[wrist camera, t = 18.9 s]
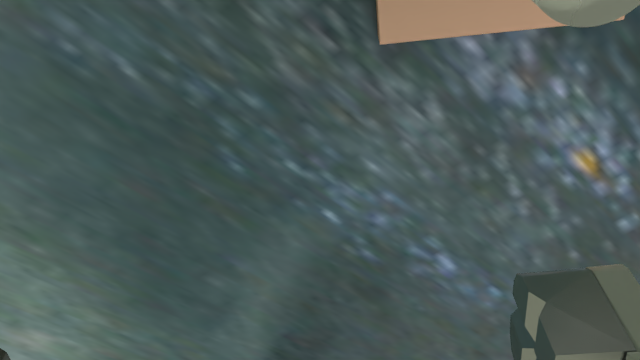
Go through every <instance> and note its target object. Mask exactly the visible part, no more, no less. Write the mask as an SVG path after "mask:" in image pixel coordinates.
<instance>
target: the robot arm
mask: <svg viewBox="0 0 640 360" xmlns="http://www.w3.org/2000/svg"><path fill="white" fill-rule="evenodd" d="M513 296H514V299H515V301H516V304H517V307H518V308H517V310H516V311H515V312H514V313H513V314H512V315H511V319H510V339H511V350H512V354H513V359H514V360H640V285H639V284H638V282H637V281H636V279H635V278H634V276H633V275H632V273H631V272H630V270H629V269H628V268H627V267H625V266H624V265H622V264H617V265H606V266H595V267H586V268H577V269H565V270H553V271H542V272H530V273H518V274H516V277H515V279H514V285H513ZM0 360H10V358H9V356H8V354H7V352H5V351H4V350H2V349H0Z"/></svg>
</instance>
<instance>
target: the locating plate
mask: <svg viewBox="0 0 640 360" xmlns="http://www.w3.org/2000/svg"><path fill="white" fill-rule="evenodd" d="M376 9H377V26H378V38H379V42H380V44H390V43H400V42H410V41H420V40H429V39H439V38H449V37H459V36H469V35H478V34H488V33H498V32H508V31H518V30H527V29H537V28H547V27H557V26H567V25H565V24H562V23H559V22H557V21H555V20H554V19H552V18H550V17H549V16H548V15H547V14H545V13H544V12H543V11H542V10H541V9H540V8H539V7H538V6H537V5H536V4H535V3H534V2H533V1H532V0H376ZM624 17H625V15H624V16H622V17H620V18H618V19H616V20H624ZM616 20H614V21H616Z"/></svg>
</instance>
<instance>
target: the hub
mask: <svg viewBox="0 0 640 360" xmlns="http://www.w3.org/2000/svg"><path fill="white" fill-rule="evenodd" d="M532 1H533V2H534V3H535V4H536V5H537V6H538V7H539V8H540V9H541V10H542V11H543V12H544V13H545V14H547V15H548V16H549V17H550V18H552V19H554V20H555V21H557V22H559V23H562V24H565V25H568V26H573V27H593V26H599V25H602V24H606V23H609V22H612V21H614V20H616V19H618V18H620V17H622V16H624V15H626V14H627V13H629V12H630V11H632V10H633V9H634V8H636V7H637V6H638V5H640V0H532Z"/></svg>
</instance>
